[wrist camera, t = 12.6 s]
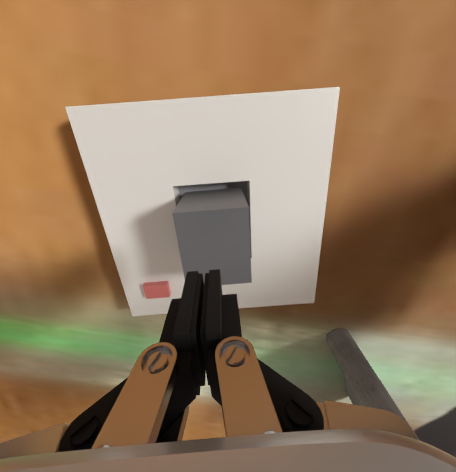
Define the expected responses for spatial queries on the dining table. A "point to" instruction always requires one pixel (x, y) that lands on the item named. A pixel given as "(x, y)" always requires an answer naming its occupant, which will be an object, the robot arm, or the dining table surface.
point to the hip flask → (359, 374)
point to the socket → (212, 185)
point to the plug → (215, 234)
